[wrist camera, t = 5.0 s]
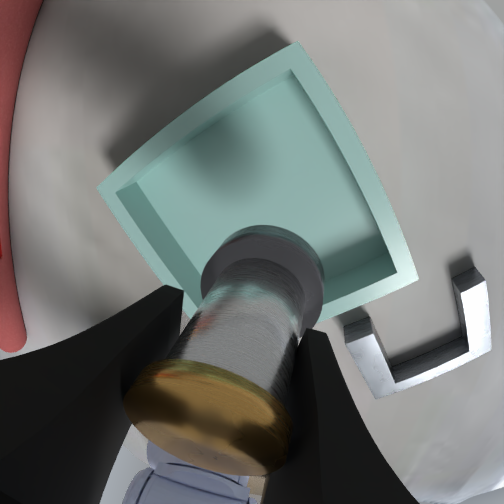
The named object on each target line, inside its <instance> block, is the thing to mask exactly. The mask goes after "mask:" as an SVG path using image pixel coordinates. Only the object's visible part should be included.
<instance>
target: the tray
mask: <svg viewBox="0 0 504 504" xmlns="http://www.w3.org/2000/svg"><path fill="white" fill-rule="evenodd" d="M97 190H98V191H99V193H100V195H101V196H102V198H103V199H104V201H105V202H106V204H107V205H108V207H109V208H110V210H111V211H112V213H113V214H114V216H115V217H116V219H117V220H118V222H119V223H120V225H121V226H122V228H123V229H124V231H125V232H126V234H127V235H128V237H129V238H130V239H131V241H132V242H133V244H134V245H135V247H136V248H137V249H138V251H139V252H140V254H141V255H142V256H143V258H144V259H145V260H146V262H147V263H148V265H149V266H150V267H151V269H152V270H153V271H154V273H155V274H156V275H157V277H158V278H159V279H160V281H161V282H162V283H163V285H166V284H167V285H169V286H172V287H175V288H178V289H181V290H184V298H183V307H182V309H183V310H184V312H185V313H186V314H187V315H188V317H189V318H190V319H191V318H192V317H193V315H194V313H195V312H196V310H197V309H198V307H199V306H200V304H201V303H202V301H203V299H202V295H201V288H200V284H201V276H202V272H203V269H204V267H205V265H206V264H207V262H208V261H209V259H210V258H211V257H212V256H213V254H214V253H215V252H216V250H217V249H218V248H219V247H220V245H221V244H222V243H223V242H224V240H225V239H226V238H228V237H229V236H230V235H231V234H233V233H234V232H236V231H238V230H240V229H242V228H245V227H249V226H254V225H272V226H277V227H281V228H284V229H287V230H289V231H291V232H294V233H295V234H297V235H299V236H300V237H302V238H303V239H304V240H305V241H306V242H308V243H309V244H310V246H311V247H312V248H313V249H314V250H315V252H316V253H317V255H318V256H319V258H320V260H321V263H322V266H323V269H324V276H325V283H324V296H323V306H322V311H321V314H320V317H319V319H318V321H317V322H316V323H318V322H321V321H323V320H326V319H329V318H331V317H334V316H336V315H339V314H341V313H344V312H346V311H349V310H351V309H354V308H356V307H358V306H361V305H363V304H366V303H368V302H370V301H373V300H375V299H377V298H380V297H382V296H384V295H386V294H389V293H391V292H393V291H395V290H398V289H400V288H402V287H404V286H406V285H408V284H411V283H413V282H415V281H417V280H419V278H418V275H417V272H416V269H415V266H414V263H413V260H412V257H411V255H410V252H409V249H408V246H407V244H406V241H405V238H404V236H403V233H402V231H401V228H400V226H399V223H398V221H397V218H396V216H395V213H394V211H393V209H392V206H391V204H390V202H389V199H388V197H387V195H386V193H385V190H384V188H383V186H382V184H381V182H380V180H379V177H378V175H377V173H376V171H375V169H374V167H373V165H372V163H371V161H370V159H369V157H368V155H367V153H366V151H365V149H364V147H363V145H362V143H361V141H360V140H359V138H358V136H357V134H356V132H355V130H354V128H353V127H352V125H351V123H350V121H349V119H348V118H347V116H346V114H345V113H344V111H343V109H342V107H341V106H340V104H339V102H338V101H337V99H336V97H335V96H334V94H333V92H332V91H331V89H330V88H329V86H328V84H327V83H326V81H325V80H324V78H323V77H322V75H321V74H320V72H319V71H318V69H317V68H316V66H315V65H314V63H313V62H312V60H311V59H310V57H309V56H308V54H307V53H306V52H305V50H304V49H303V47H302V46H301V45H300V43H299V42H298V41H297V42H295V43H293V44H291V45H289V46H287V47H285V48H283V49H281V50H280V51H278V52H276V53H274V54H272V55H271V56H269V57H267V58H265V59H264V60H262V61H260V62H259V63H257V64H255V65H254V66H252V67H250V68H249V69H247V70H245V71H244V72H242V73H240V74H239V75H237V76H236V77H234V78H233V79H231V80H230V81H228V82H226V83H225V84H223V85H222V86H220V87H219V88H217V89H216V90H214V91H213V92H212V93H210V94H209V95H207V96H206V97H204V98H203V99H202V100H200V101H199V102H197V103H196V104H195V105H193V106H192V107H190V108H189V109H188V110H186V111H185V112H184V113H182V114H181V115H180V116H178V117H177V118H176V119H174V120H173V121H172V122H171V123H169V124H168V125H167V126H165V127H164V128H163V129H162V130H160V131H159V132H158V133H157V134H156V135H154V136H153V137H152V138H151V139H149V140H148V141H147V142H146V143H145V144H144V145H142V146H141V147H140V148H139V149H138V150H137V151H135V152H134V153H133V154H132V155H131V156H130V157H129V158H127V159H126V160H125V161H124V162H123V163H122V164H121V165H120V166H119V167H118V168H116V169H115V170H114V171H113V172H112V173H111V174H110V175H109V176H108V177H107V178H106V179H105V180H104V181H103V182H102V183H101V184H100V185H99V186H98V187H97Z"/></svg>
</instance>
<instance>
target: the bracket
mask: <svg viewBox="0 0 504 504" xmlns="http://www.w3.org/2000/svg"><path fill="white" fill-rule="evenodd" d="M452 283H453V287H454V292H455V297H456V301H457V307H458V312H459V317H460V323H461V329H462V337H460V338H458V339H456V340H454V341H452V342H450V343H448V344H446V345H443V346H441V347H439V348H437V349H435V350H432V351H430V352H428V353H426V354H423V355H421V356H419V357H416V358H414V359H411V360H409V361H407V362H404V363H402V364H399V365H396V366H394V367H392V366H391V364H390V361H389V359H388V356H387V354H386V352H385V349H384V347H383V345H382V343H381V340H380V338H379V336H378V334H377V331H376V329H375V327H374V325H373V322H372V320H371V318H370V317H368V318H365V319H363V320H360V321H358V322H355V323H353V324H350V325H348V326H345V327H344V336H345V345H346V347H347V349H348V350H349V352H350V354H351V356H352V358H353V359H354V361H355V363H356V365H357V367H358V368H359V370H360V372H361V374H362V376H363V378H364V379H365V381H366V383H367V385H368V387H369V389H370V390H371V392H372V394H373V396H374V398H375V399H378V398H381V397H384V396H387V395H390V394H393V393H396V392H399V391H401V390H404V389H407V388H409V387H412V386H414V385H417V384H419V383H422V382H424V381H427V380H429V379H432V378H434V377H436V376H439V375H441V374H443V373H445V372H448V371H450V370H452V369H454V368H456V367H458V366H460V365H462V364H465V363H467V362H469V361H471V360H473V359H475V358H476V357H478V356H480V355H482V354H484V353H486V352H488V351H490V350H491V329H490V314H489V303H488V294H487V286H486V280H485V279H484V277H483V276H482V275H481V274H480V272H479V271H478V270H477V269H476V268H475V267H474V268H472V269H470V270H468V271H466V272H464V273H462V274H460V275H459V276H457V277H455V278H453V279H452Z"/></svg>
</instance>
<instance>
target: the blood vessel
mask: <svg viewBox="0 0 504 504" xmlns="http://www.w3.org/2000/svg"><path fill="white" fill-rule="evenodd" d="M42 1H43V0H0V348H1V349H2V350H3V351H5V352H10V353H12V352H17V351H19V350H20V349H22V348H23V346H24V345H25V343H26V340H27V334H26V330H25V326H24V322H23V318H22V314H21V309H20V304H19V299H18V294H17V288H16V282H15V276H14V269H13V262H12V254H11V244H10V232H9V216H8V163H9V147H10V136H11V127H12V118H13V111H14V105H15V99H16V93H17V88H18V83H19V78H20V73H21V69H22V65H23V61H24V57H25V53H26V49H27V46H28V42H29V39H30V36H31V32H32V29H33V26H34V23H35V20H36V17H37V15H38V12H39V9H40V7H41V4H42Z"/></svg>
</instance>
